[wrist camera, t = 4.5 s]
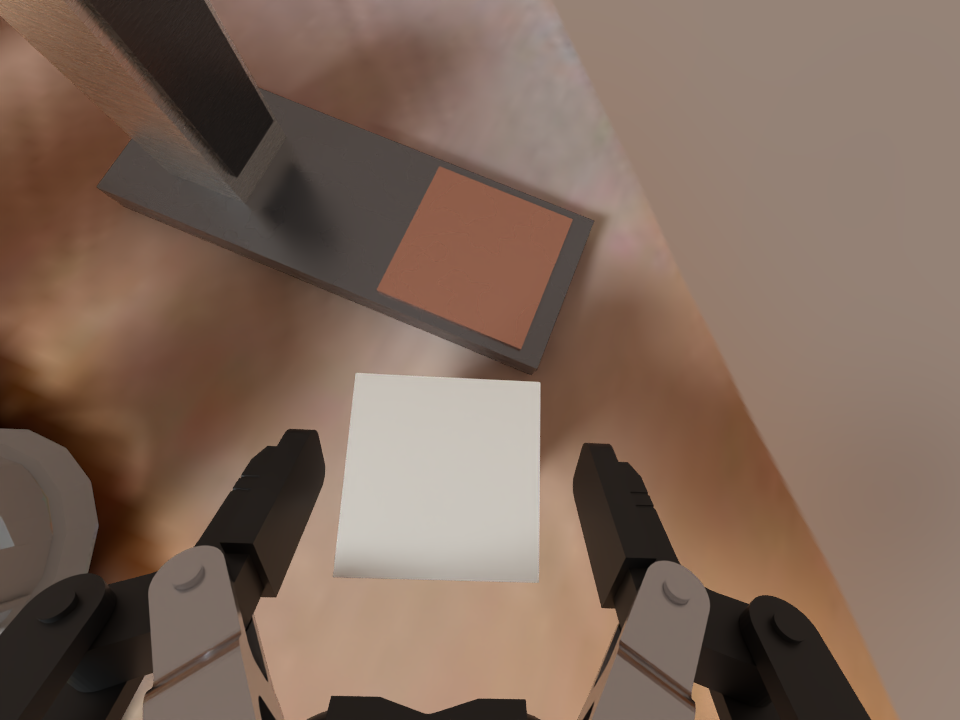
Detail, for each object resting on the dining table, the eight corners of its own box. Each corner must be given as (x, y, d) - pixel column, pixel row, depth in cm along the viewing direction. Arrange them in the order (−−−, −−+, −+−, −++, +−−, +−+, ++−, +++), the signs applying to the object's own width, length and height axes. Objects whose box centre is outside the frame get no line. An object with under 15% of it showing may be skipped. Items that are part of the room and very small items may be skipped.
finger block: (397, 501, 17) (317, 576, 7) (404, 411, 18) (341, 372, 8) (494, 505, 17) (538, 582, 8) (497, 415, 18) (540, 381, 8)
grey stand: (123, 206, 19) (-336, -118, 8) (208, 86, 21) (-77, -318, 10) (531, 374, 19) (638, 271, 7) (584, 236, 20) (737, -17, 9)
